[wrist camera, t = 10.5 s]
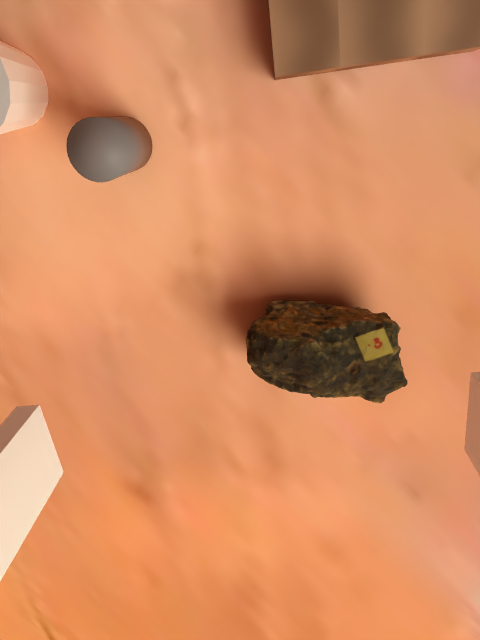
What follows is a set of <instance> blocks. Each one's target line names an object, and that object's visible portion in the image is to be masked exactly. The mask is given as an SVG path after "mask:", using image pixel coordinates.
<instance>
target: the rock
mask: <svg viewBox="0 0 480 640" xmlns="http://www.w3.org/2000/svg"><path fill="white" fill-rule="evenodd" d="M266 311H267V313H266V315H265V316H263V317H260V318H258V319H257V320H255V321H254V322H253V323H252V325H251V327H250V329H249V330H248V333H247V337H246V344H247V362H248V363H249V364H250V365H251V369H252V370H253V372H254V373H255V374H256V375H257V376H259V377H260V378H262V379H264V380H265V381H266V382H268V383H270V384H273V385H275V386H277V387H279V388H281V389H285V390H288V391H290V392H297V393H304V394H310V395H311V396H312V397H314V398H316V397H326V398H327V397H333V398H336V397H349V396H358V397H362V398H364V399H365V400H368V401H372V402H375V403H382V402H384V400H385V396H386V395H387V394H389V393H391V392H393V391H395V390H398V389H400V388H401V387H405V386H406V385H407V380H406V378H405V376H404V373H403V367H402V366H401V360H400V358H399V353H400V350H401V348H400V347H399V346H398V333H399V330H400V327H399V326H398V324H397V323H396V322H395V321H392V320H391V319H390V317H389V316H388V315H387V313H384V312H383V313H378V314H376V313H371V312H370V311H369V310H368V309H361V308H360V307H356V308H348V307H344V306H342V307H340V306H335V305H329V304H321V305H320V304H319V303H318V304H317V303H315V302H314V301H288V300H278V301H272V302H271V303H270V304H269V305H267V308H266Z"/></svg>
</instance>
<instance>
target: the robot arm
mask: <svg viewBox="0 0 480 640" xmlns="http://www.w3.org/2000/svg"><path fill="white" fill-rule="evenodd" d="M465 451H466V453H467V455H468V456H469V458H470V460H471V462H472V463H473V465H474V467H475V468H476V470H477V472H478V474H479V475H480V372H473V373H471V378H470V390H469V402H468V413H467V425H466V437H465ZM62 474H63V469H62V467H61V464H60V461H59V458H58V455H57V453H56V450H55V447H54V444H53V442H52V439H51V436H50V433H49V430H48V428H47V425H46V422H45V419H44V416H43V414H42V411H41V408H40V405H31V406H18V407H16V408H15V409H14V410H13V411H12V413H11V414H10V415H9V416H8V417H7V418H6V419H5V421H4V422H3V423H2V424H1V425H0V581H1V579H2V577H3V576H4V574H5V572H6V570H7V569H8V567H9V565H10V564H11V562H12V560H13V558H14V557H15V555H16V553H17V551H18V550H19V548H20V546H21V545H22V543H23V541H24V539H25V538H26V536H27V534H28V533H29V531H30V529H31V527H32V526H33V524H34V522H35V521H36V519H37V517H38V515H39V514H40V512H41V510H42V509H43V507H44V505H45V503H46V502H47V500H48V498H49V497H50V495H51V493H52V491H53V490H54V488H55V486H56V485H57V483H58V481H59V479H60V478H61V476H62Z"/></svg>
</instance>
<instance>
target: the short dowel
mask: <svg viewBox="0 0 480 640" xmlns="http://www.w3.org/2000/svg"><path fill="white" fill-rule="evenodd" d="M67 153H68V157H69V160H70V162H71V164H72V165H73V167H74V168H75V170H76V171H77V172H78V173H79V174H81V175H82V176H83V177H85V178H86V179H88V180H91V181H95V182H107V181H110V180H113V179H115V178H118V177H120V176H123V175H125V174H127V173H130V172H132V171H135V170H137V169H140V168H141V167H143V166H144V165H145V164H146V163H147V162H148V160H149V159H150V156H151V153H152V140H151V136H150V134H149V132H148V130H147V129H146V127H145V126H144V125H143V124H142V123H141V122H139V121H138V120H136V119H134V118H130V117H89V118H85V119H82V120H80V121H79V122H77V123H76V124H75V125H74V126H73V127H72V129H71V130H70V132H69V135H68V138H67Z"/></svg>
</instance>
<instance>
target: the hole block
mask: <svg viewBox="0 0 480 640" xmlns="http://www.w3.org/2000/svg"><path fill="white" fill-rule="evenodd" d="M268 6H269V18H270V29H271V41H272V53H273V65H274V76H275V80H278V79H285V78H292V77H299V76H306V75H313V74H320V73H326V72H333V71H340V70H347V69H354V68H361V67H368V66H374V65H381V64H388V63H395V62H402V61H409V60H415V59H422V58H429V57H436V56H443V55H450V54H457V53H463V52H470V51H475V50H478V49H480V0H268Z"/></svg>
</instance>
